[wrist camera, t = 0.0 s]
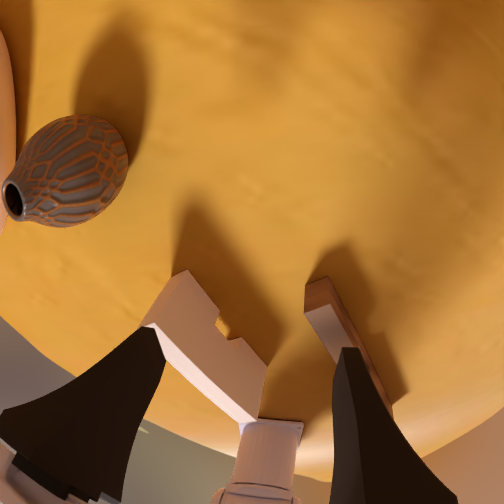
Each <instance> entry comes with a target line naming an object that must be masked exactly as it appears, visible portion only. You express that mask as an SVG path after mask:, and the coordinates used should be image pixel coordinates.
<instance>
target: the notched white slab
mask: <svg viewBox="0 0 504 504" xmlns="http://www.w3.org/2000/svg"><path fill="white" fill-rule="evenodd" d="M219 313H220V310H219V309H218V308H217V306H216V305H215V304H214V303H213V301H212V300H211V299H210V298H209V296H208V295H207V294H206V293H205V291H204V290H203V289H202V287H201V286H200V285H199V284H198V282H197V281H196V280H195V279H194V277H193V276H192V275H191V273H190V272H189V271H188V269H187V270H185V271H183V272H181V273H179V274H177V275H175V276H173V277H171V278H170V279H169V281H168V282H167V284H166V285H165V287H164V288H163V290H162V291H161V293H160V294H159V296H158V297H157V299H156V300H155V302H154V303H153V305H152V307H151V308H150V310H149V311H148V313H147V314H146V316H145V317H144V319H143V320H142V322H141V324H140V325H139V327H138V328H137V329H139V328H140V327H141V326H145V327H150V328H155V331H156V334H157V337H158V340H159V342H160V345H161V348H162V351H163V354H164V356H165V359H166V360H167V361H168V362H169V363H170V364H171V365H172V366H174V367H175V368H176V369H177V370H178V371H179V372H180V373H181V374H182V375H183V376H184V377H185V378H186V379H187V380H188V381H190V382H191V383H192V384H193V385H194V386H195V387H196V388H197V389H198V390H200V391H201V392H202V393H203V394H204V395H205V396H206V397H208V398H209V399H210V400H211V401H212V402H213V403H215V404H216V405H217V406H218V407H219V408H221V409H222V410H223V411H224V412H225V413H227V414H228V415H229V416H230V417H232V418H233V419H234V420H235V421H237V422H238V423H246V422H254V421H257V419H258V414H259V409H260V404H261V399H262V393H263V388H264V383H265V377H266V372H267V366H266V364H265V363H264V362H263V361H262V360H261V359H260V358H259V356H258V355H257V354H256V353H255V352H254V351H253V349H252V348H251V347H250V346H249V345H248V344H247V342H246V341H245V340H244V339H243V338H242V337H240V338H236V339H233V340H230V341H228V340H227V339H226V338H225V337H224V335H223V334H222V333H221V332H220V331H219V330H218V328H217V327H216V326H215V323H216V320H217V318H218V315H219Z"/></svg>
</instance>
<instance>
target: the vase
mask: <svg viewBox="0 0 504 504" xmlns="http://www.w3.org/2000/svg"><path fill="white" fill-rule="evenodd" d="M127 171H128V153H127V148H126V145H125V142H124V140H123V138H122V136H121V135H120V133H119V132H118V131H117V129H116V128H115V127H114V126H113V125H111V124H110V123H109V122H107V121H105V120H103V119H101V118H98V117H95V116H91V115H71V116H66V117H63V118H59V119H57V120H55V121H52V122H50V123H49V124H47V125H45V126H44V127H43V128H41V129H40V130H39V131H37V132H36V133H35V134H34V135H33V136H32V137H31V138H30V139H29V140H28V142H27V143H26V145H25V146H24V148H23V149H22V151H21V153H20V155H19V157H18V159H17V161H16V164H15V166H14V168H13V170H12V172H11V173H10V174H9V175H8V177H7V178H6V179H5V181H4V182H3V185H2V190H1V194H2V201H3V204H4V207H5V209H6V211H7V213H8V214H9V216H10V217H11V218H12V219H14V220H15V221H33V222H36V223H39V224H42V225H46V226H50V227H56V228H65V227H71V226H75V225H78V224H81V223H84V222H86V221H89V220H91V219H92V218H94V217H95V216H97V215H98V214H100V213H101V212H102V211H103V210H105V209H106V208H107V207H108V206H109V205H110V204H111V203H112V202H113V200H114V199H115V198H116V197H117V195H118V193H119V192H120V190H121V188H122V186H123V184H124V182H125V179H126V176H127Z"/></svg>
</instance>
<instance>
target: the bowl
mask: <svg viewBox="0 0 504 504" xmlns="http://www.w3.org/2000/svg"><path fill="white" fill-rule="evenodd" d="M15 163H16V107H15V93H14V82H13V74H12V67H11V61H10V57H9V52H8V48H7V45H6V42H5V39H4V36H3V34H2V32H1V30H0V235H1V233H2V231H3V228H4V226H5V223H6V220H7V217H8V213H7V211H6V209H5V207H4V204H3V201H2V194H1V190H2V185H3V182H4V181H5V179H6V178H7V177H8V175H9V174H10V173H11V172H12V170H13V168H14V166H15Z"/></svg>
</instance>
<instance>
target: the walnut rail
mask: <svg viewBox="0 0 504 504" xmlns="http://www.w3.org/2000/svg"><path fill="white" fill-rule="evenodd" d="M304 314H305V316H306V318H307V319H308V321H309V322H310V324H311V325H312V327H313V328H314V330H315V332H316V333H317V335H318V336H319V338H320V339H321V341H322V343H323V344H324V346H325V347H326V349H327V350H328V352H329V353H330V355H331V357H332V358H333V360H334V361H335V363H336V364H338V360H339V356H340V352H341V348H342V347H358V348H359V349H360V350H361V353H362V356H363V358H364V361H365V363H366V366H367V368H368V370H369V373H370V375H371V377H372V379H373V382H374V384H375V386H376V388H377V390H378V392H379V394H380V396H381V398H382V400H383V402H384V404H385V406H386V407H387V409H388V411H389V413H390V415H391V416H392V418H393V410H392V405H391V402H390V400H389V398H388V396H387V394H386V391H385V389H384V387H383V385H382V383H381V381H380V378H379V376H378V374H377V372H376V370H375V368H374V366H373V364H372V362H371V359H370V357H369V355H368V353H367V351H366V349H365V347H364V345H363V343H362V341H361V339H360V337H359V335H358V333H357V331H356V329H355V327H354V325H353V323H352V321H351V319H350V317H349V315H348V313H347V311H346V309H345V308H344V306H343V304H342V302H341V300H340V298H339V296H338V294H337V292H336V290H335V289H334V287H333V285H332V283H331V281H330V279H329V277H325V278H323V279H320V280H318V281H315V282H313V283H311V284H308V285H306V286H305V299H304ZM393 420H394V418H393Z"/></svg>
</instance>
